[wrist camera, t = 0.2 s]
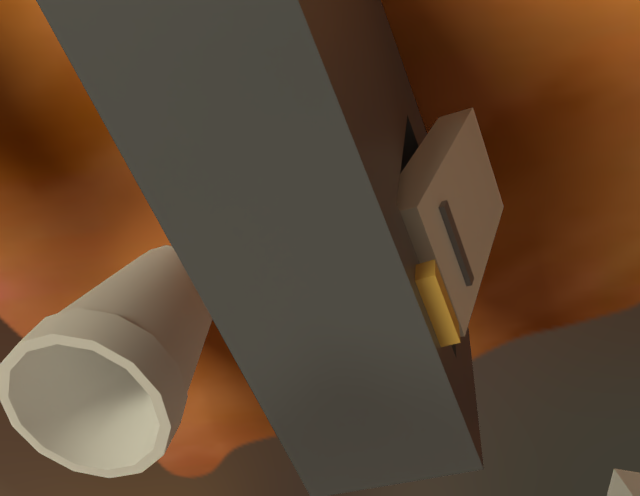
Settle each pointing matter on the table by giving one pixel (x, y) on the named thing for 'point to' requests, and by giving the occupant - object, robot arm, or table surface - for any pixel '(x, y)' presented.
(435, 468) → the switch panel
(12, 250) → the table surface
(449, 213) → the rocker
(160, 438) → the foam cup
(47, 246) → the table surface
